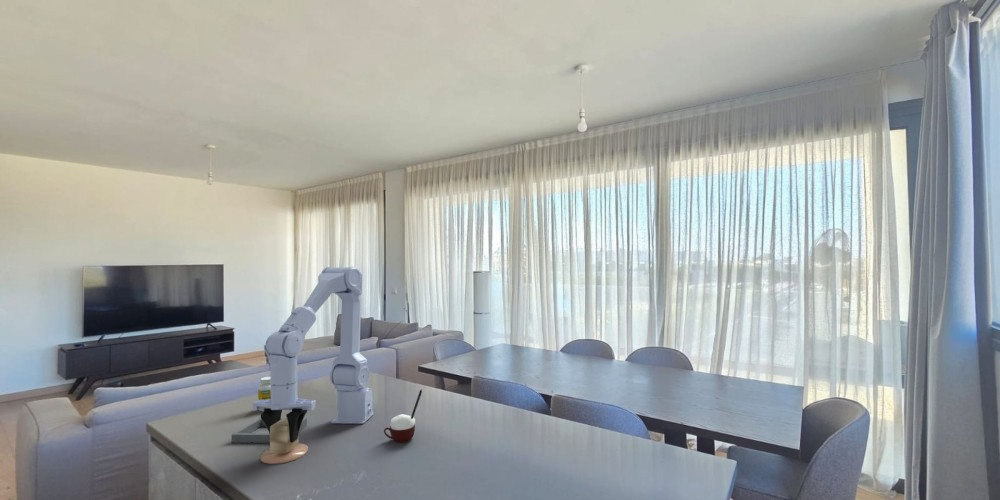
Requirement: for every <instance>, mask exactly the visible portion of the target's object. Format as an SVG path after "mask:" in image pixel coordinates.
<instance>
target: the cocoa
mask: <svg viewBox="0 0 1000 500" xmlns="http://www.w3.org/2000/svg"><path fill="white" fill-rule="evenodd" d="M422 393H423V390H422V389H419V392H418V396H417V398H416V400H415V404H414V407H413V411H412V413H411V415H408V414H398V415H396V416H394V417H392V418H390V425H389V427H385V428H384V429H383V433H384V435H385V436H386V438H388V439H390V440H393V441H394V442H395V443H399V444H401V443H403V444H404V443H407V442H409V441H411V439H413V437H414V435H415V430H416V419H415V417H414V416H415V414H416V410H417V408H418V404H419V402H420V400H421V396H422ZM387 430H389V432H390V435H389V434H388V433H387V432H386V431H387Z"/></svg>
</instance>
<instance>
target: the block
mask: <svg viewBox="0 0 1000 500" xmlns="http://www.w3.org/2000/svg"><path fill="white" fill-rule="evenodd" d="M299 443H300V442H299V438H298V439H297V440H296V441H294V442H290V436H289V424H288V420H287V419H281V420H280V421H278V422H276V423H275V424H273V425H272V426H270V443H269V449H270V453H287V452H289V451H290V450H291V449H293V448H294V447H295V446H296V445H298V444H299Z"/></svg>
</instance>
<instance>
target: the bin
mask: <svg viewBox="0 0 1000 500" xmlns="http://www.w3.org/2000/svg"><path fill="white" fill-rule="evenodd" d="M281 419H287V417H281ZM305 426H306V427H307V426H308V418H306V417H304V418H303V421H302V423H301V426H300V429H299V432H300V431H301V430H303V429H305V428H306V427H305ZM261 427H267V426H266V424H265V423H264V421H263V420H262V419H261V417H259V418H258V419H256V420H253V421H252V422H251V423H249V424H247V425H245V426H244V427H242V428H240V429H239V430H237V431H235V432H233V433H231V443H247V442H248V443H251V442H253V443H256V444H257V442H258V443H259V444H260V443H261V444H262V443H263V444H270V434H269V433H262V432H261V433H259V432H257V433H256V432H255V433H254V431H256V430H258V429H259V428H261ZM252 431H253V432H252Z"/></svg>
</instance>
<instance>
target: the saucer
mask: <svg viewBox="0 0 1000 500" xmlns="http://www.w3.org/2000/svg"><path fill="white" fill-rule="evenodd" d="M308 450H309V447H308V446H307V445H306V444H304V443H300V442H299V444H298V445H296V446H295V447H294V448H293V449H291V450H290V451H289V452H287V453H270V448H269V449H266V450H265V451H264V452H262V453H261V455H260V461H261V462H262V463H263V462H264V463H263V464H266V463H267V464H266V465H279V464H280V465H281V464H285V463H290V462H293V461H296V460H298V459H300V458H302V457H304V456H306V455H307V453H308V452H309V451H308Z"/></svg>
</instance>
